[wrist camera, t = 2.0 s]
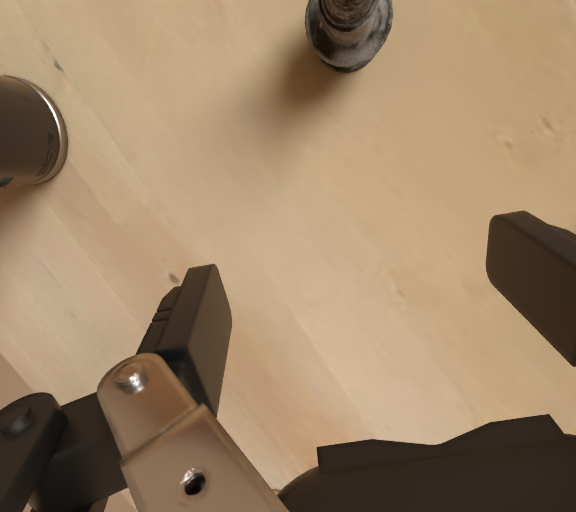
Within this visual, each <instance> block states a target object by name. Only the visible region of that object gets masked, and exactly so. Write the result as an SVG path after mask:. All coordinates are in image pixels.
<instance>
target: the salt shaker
mask: <svg viewBox="0 0 576 512" xmlns="http://www.w3.org/2000/svg"><path fill="white" fill-rule="evenodd" d="M392 18H393V8H392V0H309V2H308V5H307V8H306V15H305V28H306V35H307V38H308V40H309V43H310V45H311V47H312V49H313V50H314V51H315V53H316V54H317V55H318V57H319V58H320V60H321V61H322V62H323V63H324V64H325V65H326V66H327V67H329V68H330V69H332V70H335V71H338V72H351V71H356V70H358V69H360V68H362V67H364V66H365V65H366V64H367V63H368V62H370V61H371V60H372V58H373V57H374V55H375V54H376V53H377V52H378V51H379V50H380V48H381V47H382V46H383V44H384V43H385V41H386V39H387V37H388V34H389V32H390V29H391V25H392Z"/></svg>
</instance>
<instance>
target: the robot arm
mask: <svg viewBox="0 0 576 512" xmlns="http://www.w3.org/2000/svg"><path fill="white" fill-rule="evenodd" d="M67 146H68V139H67V131H66V126H65V123H64V120H63V118H62V115H61V113H60V111H59V109H58V108H57V106H56V104H55V103H54V101H53V100H52V99H51V98H50V97H49V96H48V94H47V93H46V92H44V91H43V90H42V89H41V88H40V87H38V86H37V85H35V84H34V83H32V82H30V81H27V80H25V79H21V78H17V77H12V76H6V75H0V187H2V186H11V185H19V184H20V185H30V184H38V183H42V182H45V181H47V180H49V179H51V178H52V177H53V176H55V175H56V174H57V173H58V171H59V170H60V169H61V167H62V165H63V163H64V161H65V158H66V154H67ZM13 187H15V186H13ZM2 188H5V187H2ZM486 271H487V275H488V278H489V280H490V282H491V283H492V285H493V286H494V287H495V288H496V289H497V290H498V291H499V292H500V293H501V294H502V295H503V296H504V297H505V298H506V299H507V300H508V301H509V302H510V303H511V304H512V305H513V306H514V307H515V308H516V309H517V310H518V311H519V312H520V313H521V314H522V315H523V316H524V317H525V318H526V319H527V320H528V321H529V322H530V323H531V324H532V325H533V326H534V327H535V328H536V329H537V330H538V332H539V333H540V334H541V335H542V336H543V337H544V338H545V339H546V340H547V341H548V342H549V343H550V344H551V345H552V346H553V347H554V348H555V349H556V350H557V351H558V352H559V353H560V354H561V355H562V356H563V357H564V358H565V359H566V360H567V361H568V362H569V363H570V364H571V365H572V366H573V367H575V366H576V234H574V233H572V232H570V231H568V230H566V229H562V228H559V227H556V226H552V225H549V224H547V223H545V222H543V221H542V220H540V219H538V218H537V217H535V216H533V215H532V214H530V213H528V212H526V211H517V212H511V213H506V214H500V215H495V216H493V217H492V219H491V221H490V225H489V234H488V245H487V256H486ZM231 328H232V316H231V310H230V306H229V303H228V299H227V296H226V293H225V290H224V287H223V284H222V280H221V277H220V274H219V271H218V268H217V266H216V265H215V264H210V265H204V266H198V267H193V268H189V269H188V271H187V273H186V276H185V278H184V281H183V283H182V285H181V286H178V287H174V288H173V289H172V290H171V291H170V292H169V293H168V294H167V295H166V296H165V297H164V298H162V301H161V303H160V305H159V307H158V309H157V313H155V315H154V317H153V319H152V323H150V326H149V328H148V330H147V332H146V334H145V336H144V338H143V340H142V342H141V344H140V346H139V348H138V350H137V353H136V355H135V356H132V357H129V358H127V359H125V360H123V361H121V362H120V363H118V364H117V365H115V366H114V367H113V368H112V369H110V370H109V371H108V372H107V373H106V374H105V376H104V377H103V378H102V380H101V381H100V383H99V385H98V388H97V392H95V393H93V394H90V395H88V396H85V397H83V398H80V399H78V400H75V401H72V402H70V403H67V404H65V405H62V406H60V405H59V404H58V402H57V401H56V400H55V398H54V397H53V396H52V395H51V394H49V393H44V392H40V393H34V394H30V395H27V396H25V397H22V398H20V399H18V400H16V401H14V402H12V403H11V404H9V405H8V406H6V407H5V408H3V409H1V410H0V512H23V510H24V508H25V506H26V504H27V503H28V504H29V505H30V506H31V507H32V509H31V511H30V512H104V509H105V506H106V503H107V500H108V497H109V496H110V495H112V494H115V493H117V492H119V491H121V490H123V489H125V488H127V487H129V490H130V492H131V495H132V498H133V500H134V503H135V505H136V508H137V510H138V512H576V435H571V434H564V433H563V432H562V430H561V429H560V428H559V426H558V425H557V424H556V423H555V421H554V420H553V419H552V417H551V416H550V415H549V414H546V415H539V416H532V417H524V418H517V419H510V420H503V421H496V422H490V423H488V424H485V425H483V426H481V427H478V428H476V429H474V430H472V431H469V432H467V433H465V434H462V435H460V436H458V437H455V438H453V439H451V440H448V441H446V442H444V443H441V444H438V445H426V444H416V443H406V442H395V441H385V440H375V439H370V440H363V441H356V442H349V443H342V444H335V445H328V446H321V447H317V456H318V465H319V466H317V467H315V468H313V469H310V470H308V471H307V472H305V473H303V474H302V475H300V476H298V477H297V478H295V479H294V480H293V481H291V482H290V483H289V484H288V485H286V486H285V487H284V488H283V489H282V490H281V491H280V492H279V493H278V494H277V495H276V494H275V493H274V492H273V490H272V489H271V488H270V487H269V485H268V484H267V483H266V481H265V480H264V479H263V478H262V476H261V475H260V474H259V473H258V471H257V470H256V469H255V467H254V466H253V465H252V464H251V462H250V461H249V460H248V459H247V457H246V456H245V455H244V453H243V452H242V451H241V450H240V448H239V447H238V446H237V444H236V443H235V442H234V441H233V439H232V438H231V437H230V436H229V434H228V433H227V432H226V430H225V429H224V428H223V427H222V425H221V424H220V423H219V422H218V420H217V419H216V418H217V412H218V406H219V400H220V394H221V388H222V382H223V376H224V370H225V364H226V358H227V352H228V346H229V340H230V334H231Z"/></svg>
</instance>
